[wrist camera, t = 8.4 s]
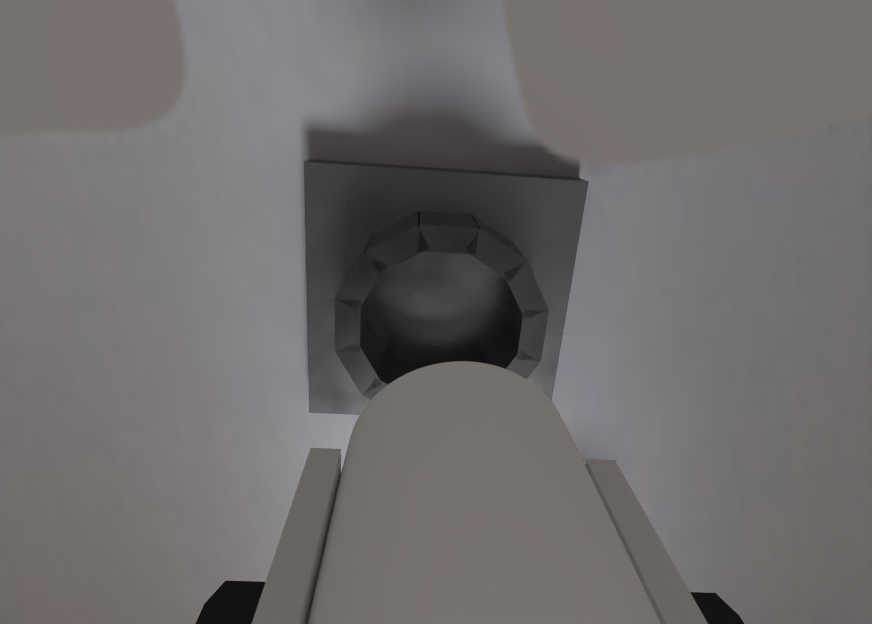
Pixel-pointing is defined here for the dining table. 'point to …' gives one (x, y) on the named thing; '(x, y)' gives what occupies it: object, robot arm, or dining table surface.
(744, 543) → the dining table surface
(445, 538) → the can
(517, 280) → the socket
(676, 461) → the dining table surface
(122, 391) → the dining table surface
